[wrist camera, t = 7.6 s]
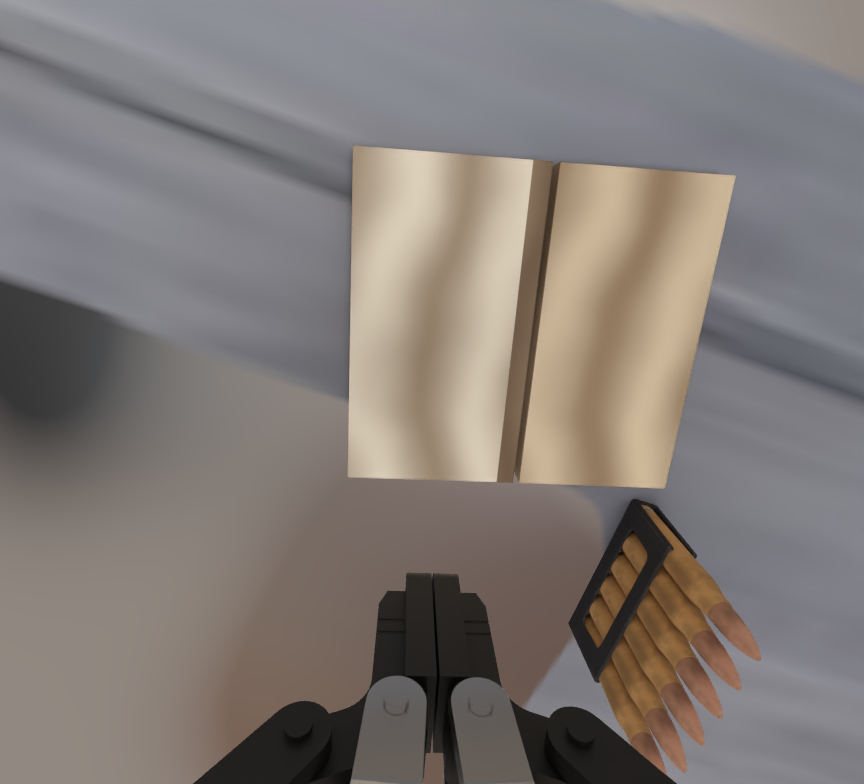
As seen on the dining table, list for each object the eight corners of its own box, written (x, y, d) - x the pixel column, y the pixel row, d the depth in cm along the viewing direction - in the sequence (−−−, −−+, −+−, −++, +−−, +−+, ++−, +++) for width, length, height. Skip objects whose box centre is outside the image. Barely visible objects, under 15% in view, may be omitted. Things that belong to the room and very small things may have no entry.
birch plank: (544, 165, 26) (552, 161, 25) (507, 471, 32) (512, 482, 30) (355, 150, 26) (352, 145, 24) (350, 465, 31) (347, 477, 30)
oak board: (718, 179, 27) (735, 175, 26) (653, 477, 32) (664, 488, 31) (552, 166, 26) (560, 162, 25) (514, 471, 32) (519, 482, 30)
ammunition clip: (632, 498, 33) (752, 638, 21) (657, 505, 33) (788, 647, 22) (567, 624, 36) (642, 807, 24) (591, 630, 36) (675, 814, 24)
